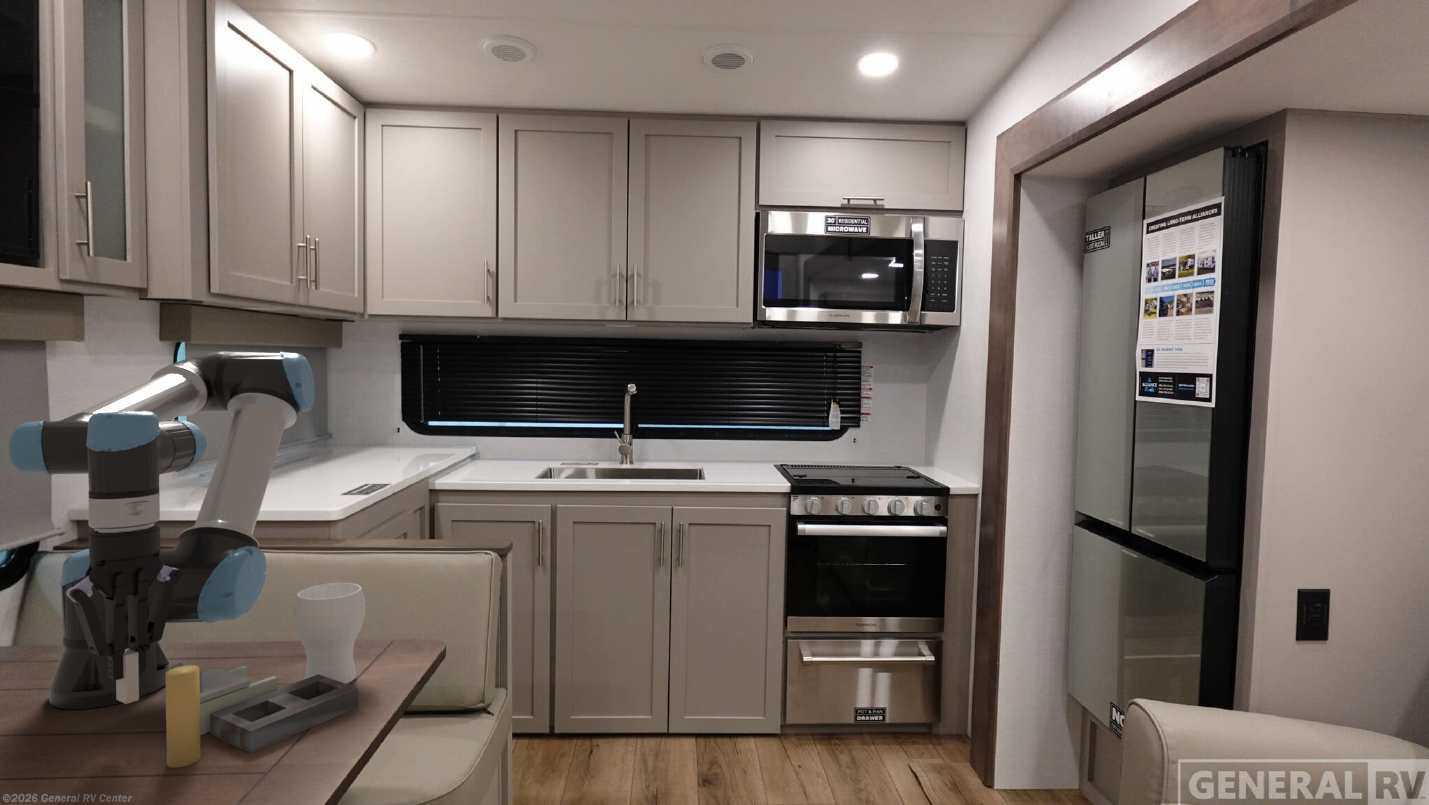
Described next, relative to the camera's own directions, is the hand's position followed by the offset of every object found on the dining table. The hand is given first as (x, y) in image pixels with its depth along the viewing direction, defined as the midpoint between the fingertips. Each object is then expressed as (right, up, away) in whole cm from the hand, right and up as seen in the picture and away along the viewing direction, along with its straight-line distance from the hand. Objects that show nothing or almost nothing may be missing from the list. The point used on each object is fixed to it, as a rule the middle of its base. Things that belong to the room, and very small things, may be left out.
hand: (127, 699), depth 101 cm
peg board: (+17, -7, +9) cm, 20 cm away
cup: (+15, -6, +23) cm, 29 cm away
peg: (+10, -7, -3) cm, 12 cm away
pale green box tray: (+6, -6, +11) cm, 14 cm away
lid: (+5, -2, +9) cm, 10 cm away
